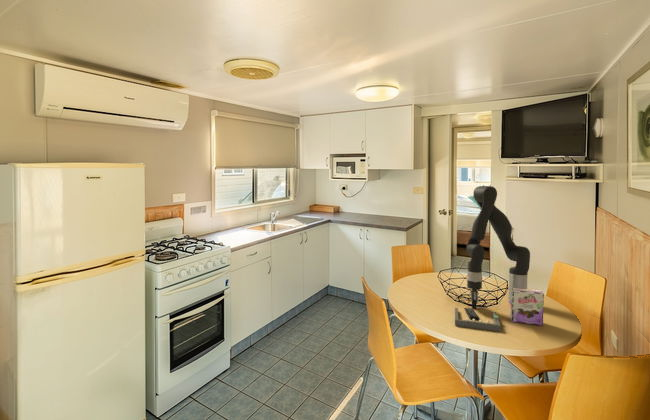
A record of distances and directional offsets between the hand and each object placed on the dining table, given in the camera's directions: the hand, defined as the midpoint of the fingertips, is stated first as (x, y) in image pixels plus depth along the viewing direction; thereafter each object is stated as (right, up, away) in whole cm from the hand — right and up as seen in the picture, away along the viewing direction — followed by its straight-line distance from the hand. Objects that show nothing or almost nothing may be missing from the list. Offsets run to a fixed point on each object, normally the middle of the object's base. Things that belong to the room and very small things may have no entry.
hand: (474, 310), depth 187 cm
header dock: (-6, -1, -16) cm, 17 cm away
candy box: (+20, -1, -16) cm, 25 cm away
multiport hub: (-5, -2, -7) cm, 9 cm away
